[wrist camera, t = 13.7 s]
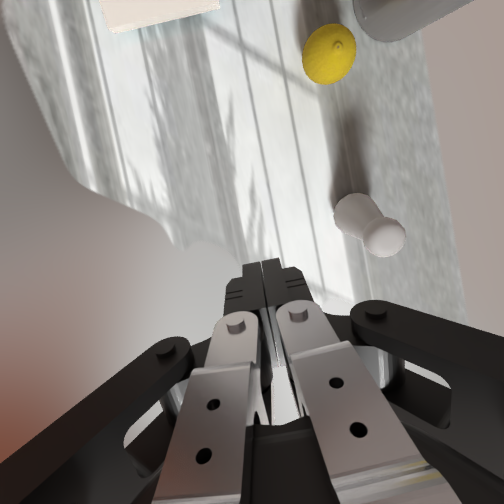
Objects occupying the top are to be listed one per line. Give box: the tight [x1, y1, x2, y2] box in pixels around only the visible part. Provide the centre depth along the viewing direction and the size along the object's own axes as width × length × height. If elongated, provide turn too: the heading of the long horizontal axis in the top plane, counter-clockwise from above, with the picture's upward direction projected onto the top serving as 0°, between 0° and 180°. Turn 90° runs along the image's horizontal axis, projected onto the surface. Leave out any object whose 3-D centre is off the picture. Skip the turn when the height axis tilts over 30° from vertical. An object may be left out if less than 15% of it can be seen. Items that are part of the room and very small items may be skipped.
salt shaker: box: [333, 193, 406, 257], centre depth 39 cm, size 6×6×13 cm
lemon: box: [302, 23, 356, 85], centre depth 34 cm, size 6×6×8 cm
